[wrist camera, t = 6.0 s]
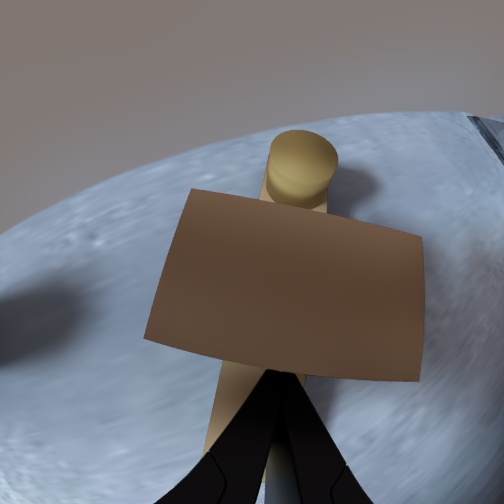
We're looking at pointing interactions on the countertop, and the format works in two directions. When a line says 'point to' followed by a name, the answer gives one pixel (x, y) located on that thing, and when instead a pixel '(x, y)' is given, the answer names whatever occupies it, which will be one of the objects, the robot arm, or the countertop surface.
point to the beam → (288, 193)
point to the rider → (291, 290)
